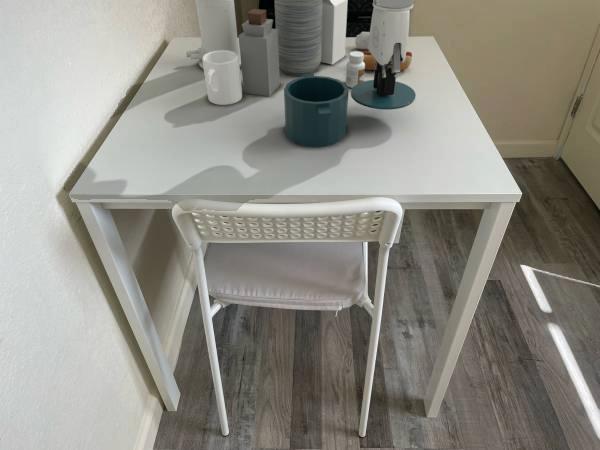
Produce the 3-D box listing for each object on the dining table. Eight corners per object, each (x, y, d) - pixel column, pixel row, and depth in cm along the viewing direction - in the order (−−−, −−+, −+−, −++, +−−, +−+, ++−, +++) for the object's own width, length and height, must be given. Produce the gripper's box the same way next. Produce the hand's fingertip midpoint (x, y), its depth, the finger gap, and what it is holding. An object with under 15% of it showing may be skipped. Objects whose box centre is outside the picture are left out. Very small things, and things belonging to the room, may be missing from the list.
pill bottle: (362, 89, 112) (364, 57, 107) (344, 87, 113) (346, 56, 108) (364, 81, 115) (366, 51, 110) (346, 80, 116) (348, 49, 111)
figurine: (357, 45, 134) (358, 28, 131) (383, 49, 132) (385, 32, 128) (353, 50, 131) (354, 32, 128) (380, 54, 129) (382, 36, 126)
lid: (360, 115, 92) (362, 88, 88) (343, 86, 102) (345, 62, 98) (424, 109, 93) (429, 82, 90) (402, 81, 103) (405, 57, 100)
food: (408, 65, 123) (411, 46, 120) (411, 73, 119) (414, 54, 116) (356, 64, 124) (357, 46, 120) (357, 72, 119) (358, 53, 116)
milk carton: (344, 56, 128) (348, -18, 115) (332, 65, 123) (335, -12, 111) (322, 51, 131) (324, -22, 118) (309, 60, 126) (310, -16, 114)
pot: (292, 157, 89) (291, 112, 83) (280, 114, 103) (278, 73, 96) (355, 150, 91) (358, 106, 85) (335, 109, 104) (336, 68, 98)
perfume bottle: (279, 84, 114) (276, 8, 102) (269, 96, 110) (265, 17, 98) (254, 81, 116) (249, 5, 104) (243, 92, 111) (236, 14, 99)
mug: (195, 110, 104) (188, 68, 98) (216, 88, 113) (211, 48, 107) (228, 114, 103) (223, 72, 96) (247, 92, 111) (243, 51, 105)
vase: (305, 82, 115) (305, -18, 100) (268, 72, 120) (263, -25, 105) (329, 66, 123) (332, -29, 108) (293, 57, 128) (291, -35, 112)
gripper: (362, -13, 90) (356, 77, 102) (387, 11, 78) (377, 110, 90) (398, -15, 91) (388, 74, 103) (429, 8, 79) (413, 107, 91)
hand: (383, 90), depth 96 cm, fingers closed on lid, 2 cm apart
